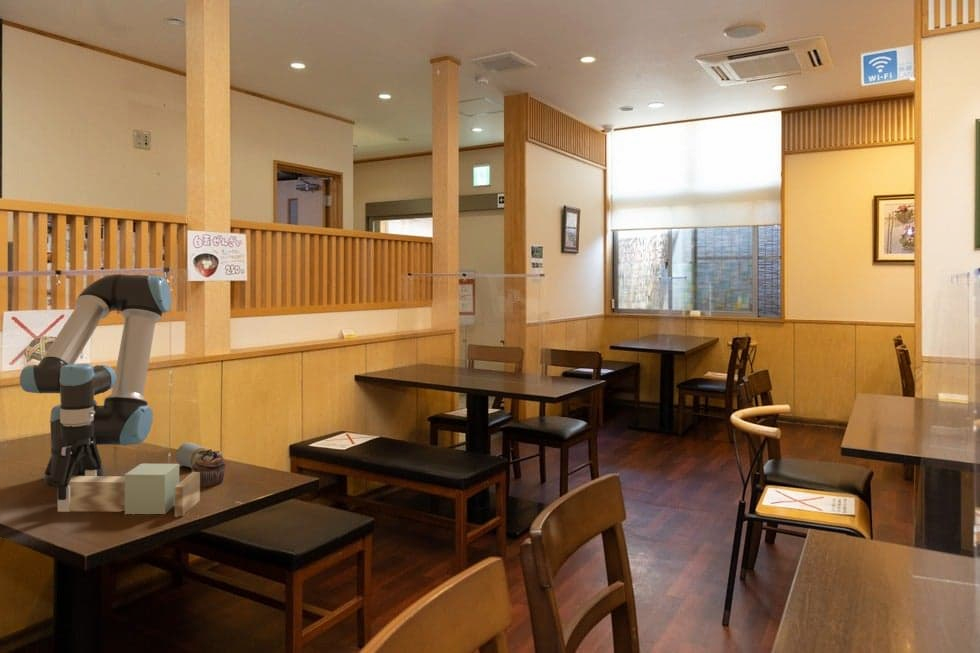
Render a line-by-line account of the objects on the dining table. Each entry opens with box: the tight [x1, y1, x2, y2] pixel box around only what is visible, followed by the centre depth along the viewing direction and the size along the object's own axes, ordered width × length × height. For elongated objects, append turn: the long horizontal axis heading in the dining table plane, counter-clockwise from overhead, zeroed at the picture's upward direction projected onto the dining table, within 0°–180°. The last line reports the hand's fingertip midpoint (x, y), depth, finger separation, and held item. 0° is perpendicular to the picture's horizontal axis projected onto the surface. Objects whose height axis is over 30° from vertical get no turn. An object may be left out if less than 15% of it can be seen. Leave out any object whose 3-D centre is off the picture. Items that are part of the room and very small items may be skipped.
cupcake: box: [190, 449, 227, 487], centre depth 200 cm, size 10×10×10 cm
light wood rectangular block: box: [68, 475, 125, 513], centre depth 176 cm, size 16×5×8 cm, turn 95°
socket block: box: [124, 462, 180, 516], centre depth 178 cm, size 10×10×11 cm
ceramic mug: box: [175, 441, 208, 469], centre depth 216 cm, size 11×8×8 cm
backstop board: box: [174, 471, 201, 517], centre depth 178 cm, size 2×13×8 cm, turn 5°
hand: (78, 502), depth 176 cm, fingers open, 13 cm apart
